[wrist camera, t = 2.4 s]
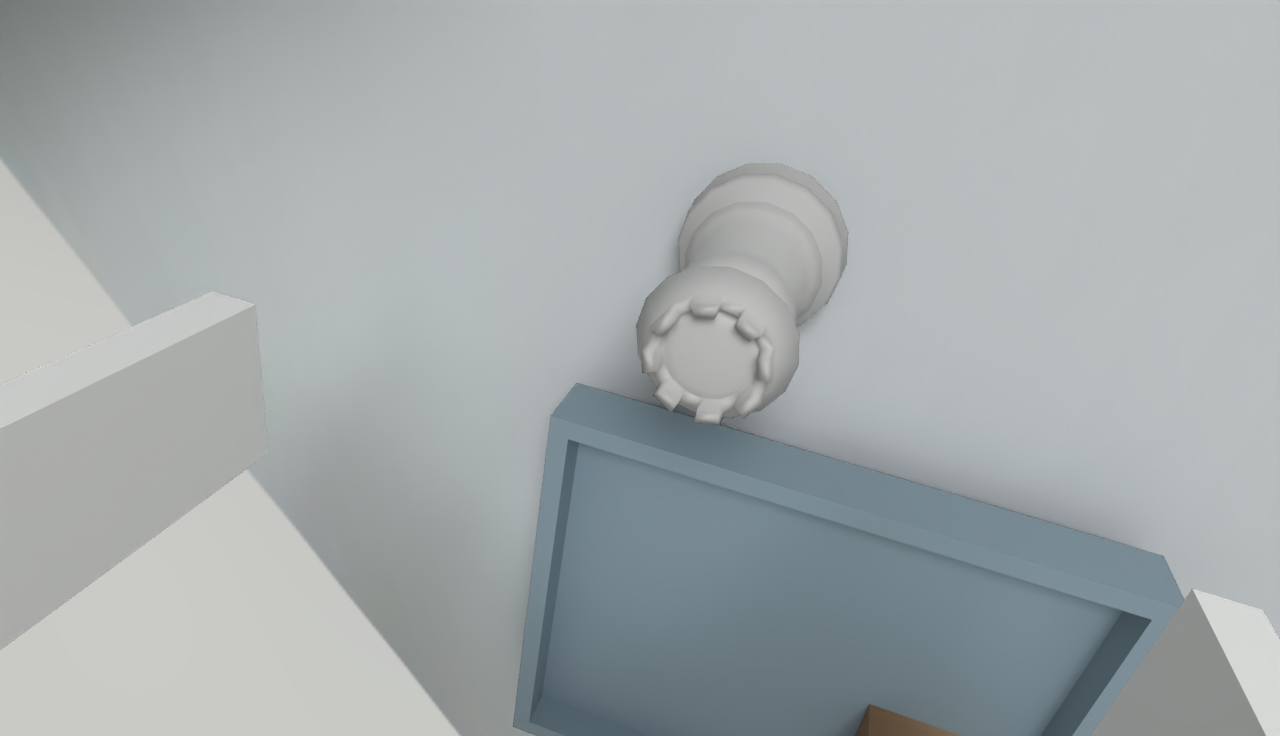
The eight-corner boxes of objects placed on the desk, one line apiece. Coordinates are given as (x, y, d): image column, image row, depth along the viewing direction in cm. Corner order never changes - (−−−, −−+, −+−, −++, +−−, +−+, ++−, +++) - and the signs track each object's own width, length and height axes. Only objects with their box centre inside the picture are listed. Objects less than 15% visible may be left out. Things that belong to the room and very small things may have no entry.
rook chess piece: (701, 143, 20) (604, 225, 14) (870, 177, 20) (858, 282, 13) (675, 296, 23) (581, 434, 16) (826, 332, 22) (797, 494, 15)
